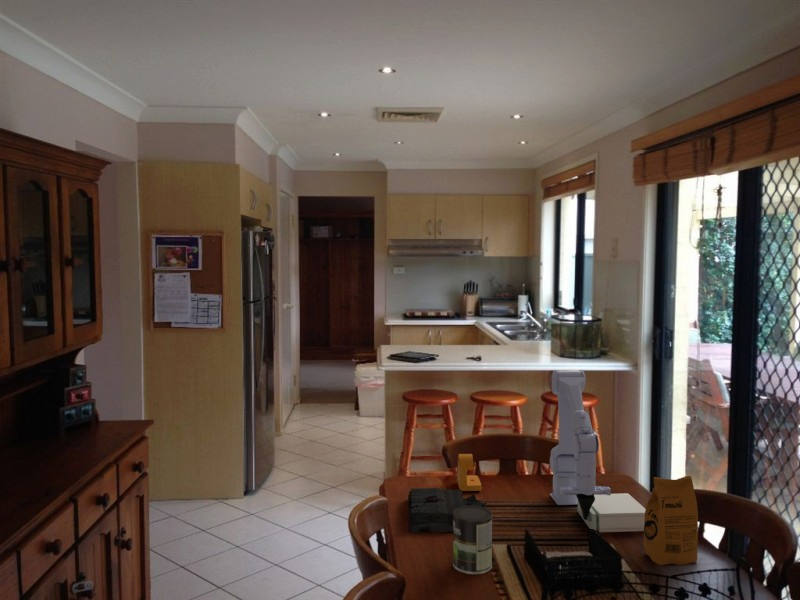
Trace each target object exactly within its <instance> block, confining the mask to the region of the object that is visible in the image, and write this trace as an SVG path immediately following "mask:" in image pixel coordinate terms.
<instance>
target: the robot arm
mask: <svg viewBox="0 0 800 600" xmlns="http://www.w3.org/2000/svg"><path fill="white" fill-rule="evenodd" d="M586 381H587V379H586V374H585V372H584V371H583V370H582V369H579V370H576V369H574V370H573V369H571V370H569V369H567V370H560V369H559V370H557V369H554V370H553V372H552V373H551V391H552V394H553V395H556V397H557V403H558V404H557V405H558V407H557V408H558V410H557V411H558V412H557V413H558V444H557V445H556V446H554V447H552V449H551V450H550V457H549V467H550V471H551V473H552V474H553V476H552V493H550V494H549V496H550V498H552V499H553V501H554V502H555V504H557V506H565V505H566V506H568V505H573V506H574V505H577V502H578V501H579V504H580V506H581V510H582V515H583V518H584V520H587V517H588V514H589V511H590V508H591V506H592V504H593V503H594V501H595V497H594V495H611V494H612V492H611V491H612V489H611V488H610V487H609V486H601V485H600V486H599V485H596V471H597V469H596V464H597V463H596V460H597V458H596V457H597V456H596V454H597V453H598V452H599V447H600V444H599V443H600V442H599V436H598V434H597V433H596V431H595V429H593V427H592V422H591V419H590V417H591V416H590V414H589V413H588V411H585V408H584V402H583V401H584V400H583V394H582V393H583V392H584V389H585V388H586V385H587V384H586V383H587V382H586ZM583 518H582V519H583ZM584 520H583V521H584Z"/></svg>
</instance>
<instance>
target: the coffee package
mask: <svg viewBox="0 0 800 600" xmlns="http://www.w3.org/2000/svg"><path fill="white" fill-rule="evenodd" d="M652 482H653V486H654V487H653V488H652V491H651V493H650V496H649V498H648V500H647V503H646V505H645V509H646V510H645V521H644V531H643V548H644V553H645V555H646V556H648V557H649V558H650V560H651V562H653V563H655V564H656V565H658V566H666V565H671V564H672V565H673V564H674V565H677V566H684V565H685V566H686V565H689V564H694V563H697V562H698V544H699V543H698V541H699V539H698V537H699V522H698V521H699V513H698V512H699V511H698V501H697V497H696V493H695V487H694V486H695V485H694V482H693V478H692V475H685V476H683V477H679V478H677V479H673V478H672V479H671V478H663V477H655V476H653V478H652Z"/></svg>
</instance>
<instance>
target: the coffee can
mask: <svg viewBox="0 0 800 600" xmlns="http://www.w3.org/2000/svg"><path fill="white" fill-rule="evenodd" d="M492 530H493V512H492V510H490V509H489V508H487V507H486V508H484V507H480V506H462V507H459V508H456V509H455V510H454V511H453V532H452V533H453V538H452V539H453V540H452V543H453V545H452V548H453V550H452V551H453V553H452V555H453V559H452V561H453V562H452V566H453V568H454V570H456V571H457V572H460V573H462V574H467V575H482V574H486V573H488V572H489V571H491V570H492V568H493V560H492V559H493V557H492V556H493V555H492V554H493V553H492V552H493V551H492V549H493V544H492V542H493V537H492V536H493V531H492Z"/></svg>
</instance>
